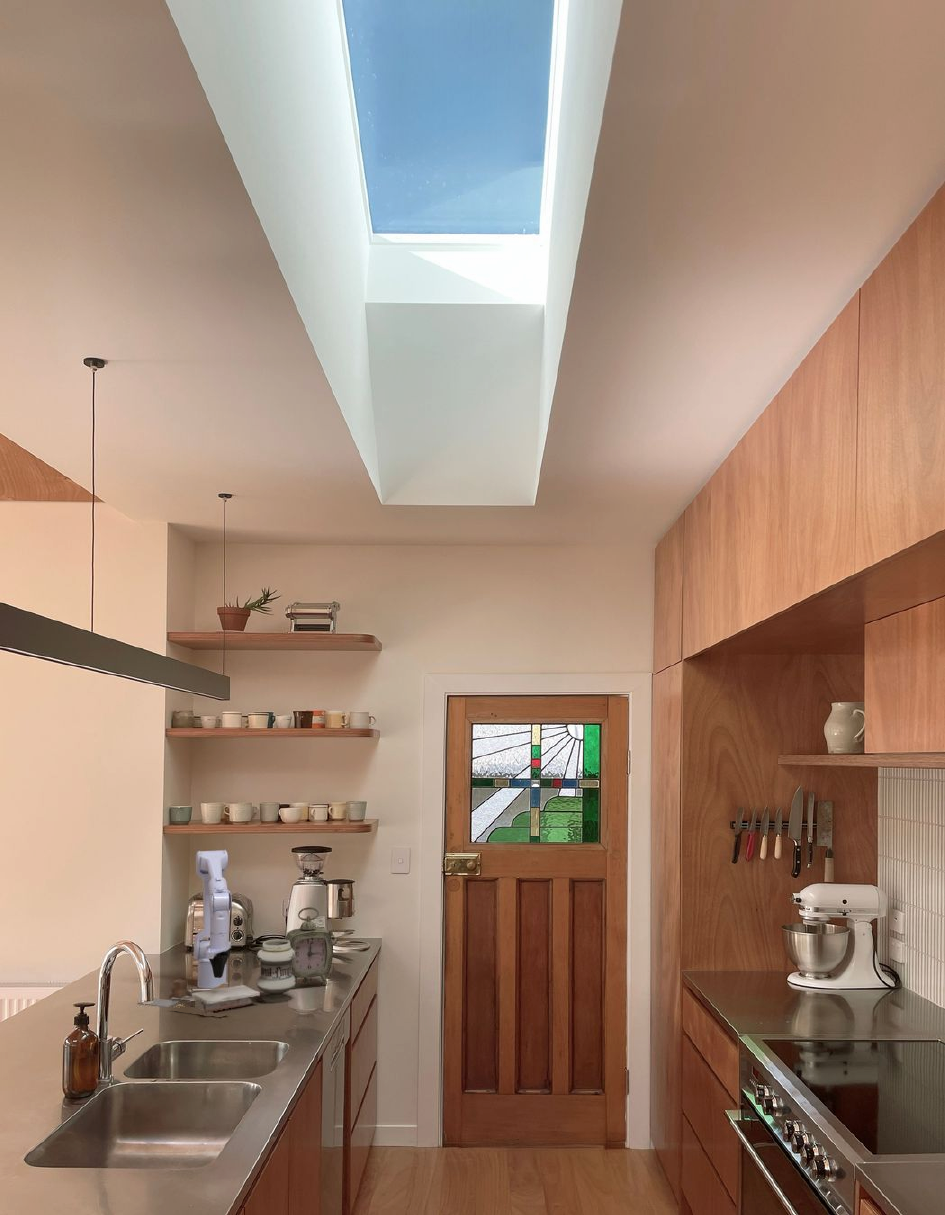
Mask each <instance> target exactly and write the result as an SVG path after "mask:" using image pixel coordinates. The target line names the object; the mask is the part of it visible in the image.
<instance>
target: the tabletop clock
mask: <svg viewBox="0 0 945 1215" xmlns="http://www.w3.org/2000/svg"><path fill="white" fill-rule="evenodd" d="M307 910H314V911H315V912H316V913H317V914H316V916H313V917H311V916H309V915H307V916H306V918H304V917H301V916H300V914H302V912H303V911H307ZM319 912H320V911H319V910H318V909H317V908H315V907H311V906H310V907H307V906H306V907H303V908H301V910H299V911H298V913H297V917H298V918H299V919H300V920H301V921H304V922H302V923H301V925H300V928H295V929H291V930H289V931H287V933H286V935H285V938H284V940H289V941H290V946H291V948H293V949H294V951H295V958H294V959H293V960H292V963H291V965H292V975H293V976H294V977H295V979H296V980H297V978H299V979H302V978H303V979H302V983H303V984H307V983H308V978H314V977H316V978H317V977H320V978H321V980H322V983H321V984H322V985H324V986H326V985H327V984H328V980H327V979H325V978H324V976H325V975H326V974H328V973H329V972H330V970H331V969H332V962H333V941H332V937H331V934H330V933H329V932H328V931H327V930H325V929H324V928H321V927H317V925H316V924H315V922H313V920H315V919H317V918H318V916H319ZM296 986H297V985H296V984H295V985H294V987H293V988H292V989H295V988H296Z"/></svg>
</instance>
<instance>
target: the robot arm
mask: <svg viewBox="0 0 945 1215" xmlns="http://www.w3.org/2000/svg"><path fill="white" fill-rule="evenodd" d="M195 854H196V855H195V874H196V877H198V878H200V879H201V880H202V886H203V887H202V888H203V889H202V900H203V901H202V903H203V904H202V912H203V913H202V916H203V917H202V918H203V919H202V922H203V924H202V925H203V927H202V929H201V930H200V931H199V932H198V933H196V935H195V937H194V944H193V958H194V959H195V960H196V961H197V987H198V988H200V989H216V988H219V987H220V986H221V985H223V984H227V985H228V984H229V983H228V982H227V961H228V959H229V957H230V953H231V952H229V951H228V950H230V949H231V948H232V941H230V939H229V938H230V937H229V936H230V912H231V910H232V905H233V901H232V900H233V898H232V893H231V891H230V890H228V882H227V880H226V878H225V877H223V876H224V875H225V873H226V870H227V868H228V861H229V856H228V851H227V850H226V849H223V850H222V849H221V850H205V851H203V850H202V851H201V850H198V851H197V852H196V853H195Z"/></svg>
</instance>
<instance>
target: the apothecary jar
mask: <svg viewBox="0 0 945 1215" xmlns="http://www.w3.org/2000/svg"><path fill="white" fill-rule="evenodd" d="M256 957H257V960H258V961H259V962H260V976H258V978H257V980H256V986H257V988H258V990H259V991H261V992H262V993H263V992H264V993H267V994H266V995H264V996H262V997H261V998H260V999H259V1002H260V1003H263V1002H264V1003H263V1004H267V1003H269V1004H276V1003H277V1004H278V1003H284V1002H288V1000H289V1001H291V1000H292V997H291V996H289V995H287V994H285V993H286V992H289V991H291V990H292V989H294V988H293V987H294V985H296V982H297V979H295V977H294V976H293V975H292V965H291V963H292V960H293V959H294V958H295V951H294V949H293V948H291V946H290V941H289V940H285V938H284V939H280V938H277V939H268V940H266V941H263V943H262V946H261V949H260V950H258V951H257V956H256ZM290 999H291V1000H290Z"/></svg>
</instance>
